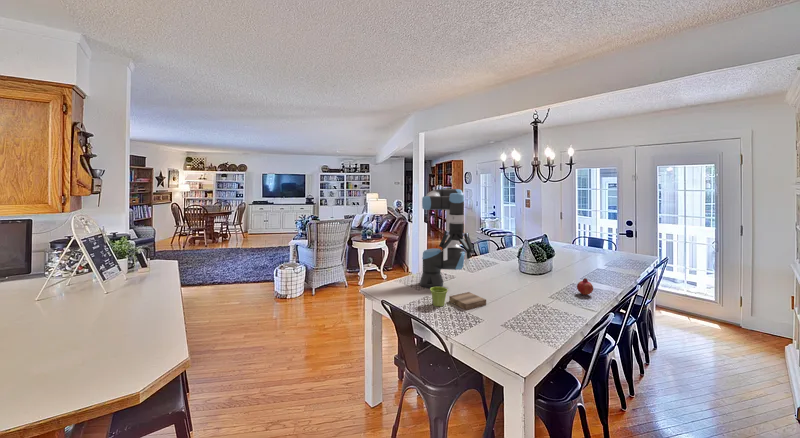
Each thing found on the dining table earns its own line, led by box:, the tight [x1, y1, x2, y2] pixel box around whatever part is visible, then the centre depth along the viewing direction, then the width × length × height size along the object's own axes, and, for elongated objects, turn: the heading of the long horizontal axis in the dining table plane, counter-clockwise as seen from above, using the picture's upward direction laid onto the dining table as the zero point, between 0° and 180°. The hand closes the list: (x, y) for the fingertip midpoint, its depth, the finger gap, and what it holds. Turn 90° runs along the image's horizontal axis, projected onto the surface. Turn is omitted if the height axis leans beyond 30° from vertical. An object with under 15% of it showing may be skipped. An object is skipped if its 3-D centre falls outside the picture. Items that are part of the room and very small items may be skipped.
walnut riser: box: [449, 291, 487, 311], centre depth 171 cm, size 14×14×3 cm
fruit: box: [576, 277, 594, 296], centre depth 182 cm, size 8×8×10 cm
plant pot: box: [429, 286, 449, 308], centre depth 168 cm, size 9×9×9 cm
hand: (455, 262), depth 166 cm, fingers open, 13 cm apart
